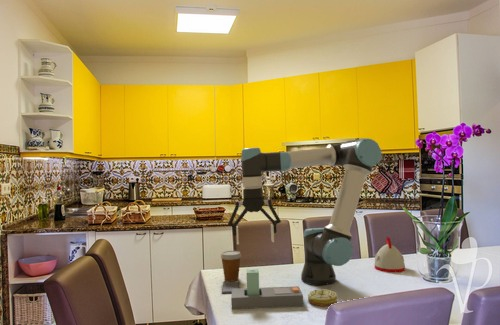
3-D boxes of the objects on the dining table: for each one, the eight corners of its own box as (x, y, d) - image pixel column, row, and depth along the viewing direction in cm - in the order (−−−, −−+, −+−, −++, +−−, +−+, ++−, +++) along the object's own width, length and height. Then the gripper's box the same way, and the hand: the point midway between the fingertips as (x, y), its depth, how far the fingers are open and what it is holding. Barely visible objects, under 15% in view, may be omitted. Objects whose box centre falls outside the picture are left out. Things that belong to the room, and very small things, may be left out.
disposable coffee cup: (239, 282, 160) (238, 255, 160) (218, 281, 162) (218, 255, 162) (243, 276, 169) (243, 250, 169) (224, 275, 171) (223, 250, 171)
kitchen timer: (401, 265, 181) (400, 235, 181) (408, 273, 167) (407, 240, 168) (372, 264, 183) (371, 235, 184) (377, 272, 170) (376, 240, 170)
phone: (239, 284, 159) (239, 281, 159) (238, 294, 146) (238, 291, 146) (223, 285, 159) (223, 282, 159) (221, 295, 146) (221, 292, 146)
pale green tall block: (259, 300, 137) (258, 268, 137) (259, 305, 132) (258, 272, 133) (247, 301, 137) (246, 269, 137) (247, 305, 132) (246, 272, 133)
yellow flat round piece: (310, 296, 141) (310, 286, 141) (338, 298, 137) (338, 288, 138) (305, 305, 131) (305, 295, 131) (335, 308, 128) (335, 298, 128)
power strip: (298, 296, 140) (298, 284, 140) (303, 306, 130) (302, 293, 130) (232, 299, 139) (231, 286, 139) (231, 309, 129) (231, 295, 129)
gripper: (283, 185, 144) (285, 238, 143) (220, 189, 142) (223, 242, 142) (286, 186, 136) (288, 242, 136) (220, 190, 135) (222, 246, 134)
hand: (255, 242), depth 139 cm, fingers open, 13 cm apart
